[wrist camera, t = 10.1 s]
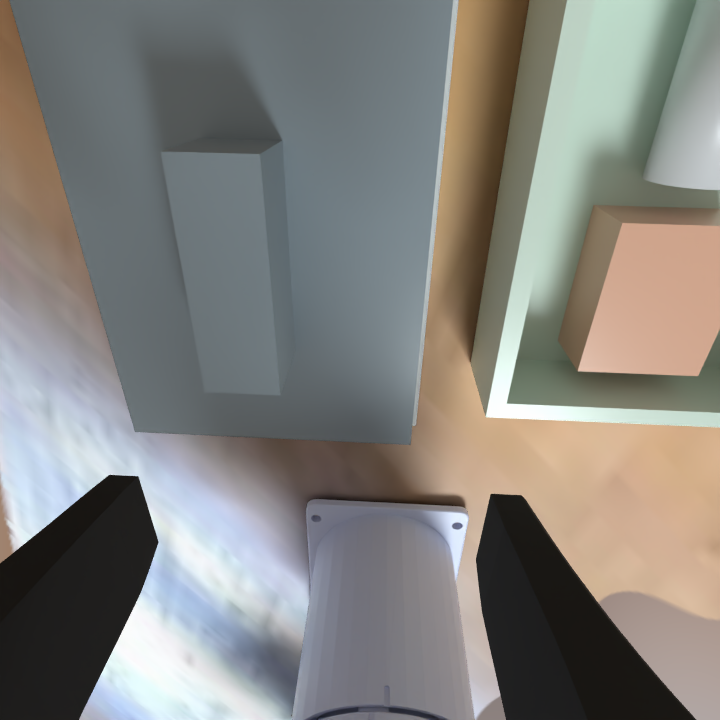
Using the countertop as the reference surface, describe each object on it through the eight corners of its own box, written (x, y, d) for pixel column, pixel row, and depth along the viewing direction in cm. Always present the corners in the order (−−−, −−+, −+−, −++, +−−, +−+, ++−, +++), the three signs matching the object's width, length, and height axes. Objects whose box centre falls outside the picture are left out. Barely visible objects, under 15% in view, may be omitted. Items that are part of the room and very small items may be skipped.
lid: (409, 423, 20) (413, 497, 17) (149, 411, 21) (100, 481, 17) (451, -36, 12) (476, -81, 9) (30, -42, 13) (-109, -88, 9)
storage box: (722, 374, 19) (785, 430, 16) (470, 363, 19) (485, 417, 16) (956, -103, 12) (1152, -165, 9) (546, -106, 12) (599, -167, 9)
